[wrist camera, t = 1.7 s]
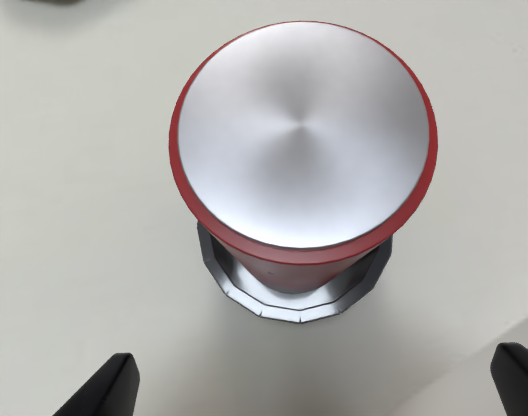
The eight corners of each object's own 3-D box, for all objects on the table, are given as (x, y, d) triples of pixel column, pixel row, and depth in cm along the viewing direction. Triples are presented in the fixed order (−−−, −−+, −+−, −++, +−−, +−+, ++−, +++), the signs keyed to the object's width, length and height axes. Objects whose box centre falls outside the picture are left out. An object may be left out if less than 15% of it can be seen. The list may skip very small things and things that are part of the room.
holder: (393, 297, 20) (422, 293, 16) (233, 337, 20) (219, 344, 16) (345, 150, 23) (358, 113, 19) (202, 186, 23) (183, 157, 19)
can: (363, 278, 20) (490, 222, 8) (251, 306, 20) (189, 296, 8) (330, 173, 22) (389, -15, 9) (227, 199, 22) (145, 45, 9)
